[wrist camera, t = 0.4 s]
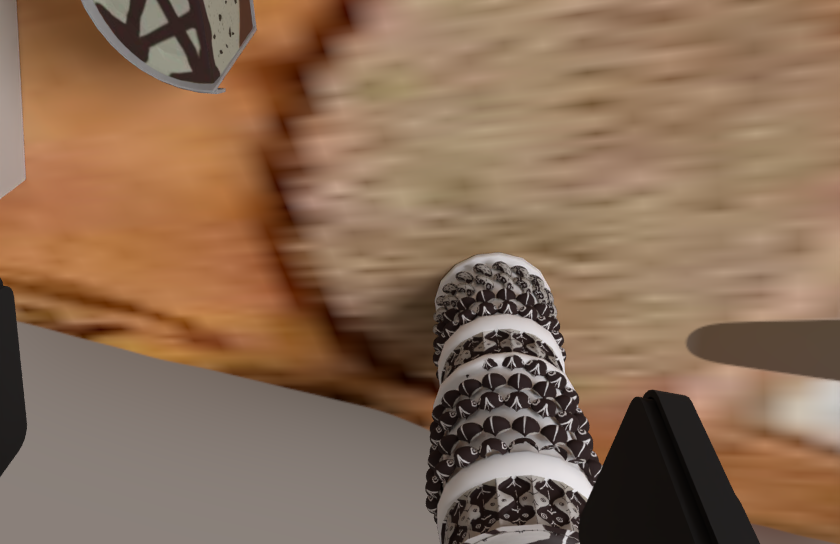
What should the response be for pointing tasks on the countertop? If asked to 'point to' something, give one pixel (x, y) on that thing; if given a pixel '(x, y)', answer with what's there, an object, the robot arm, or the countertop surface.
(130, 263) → the countertop surface
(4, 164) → the white tray
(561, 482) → the decorative candle
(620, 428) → the robot arm
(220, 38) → the food container
